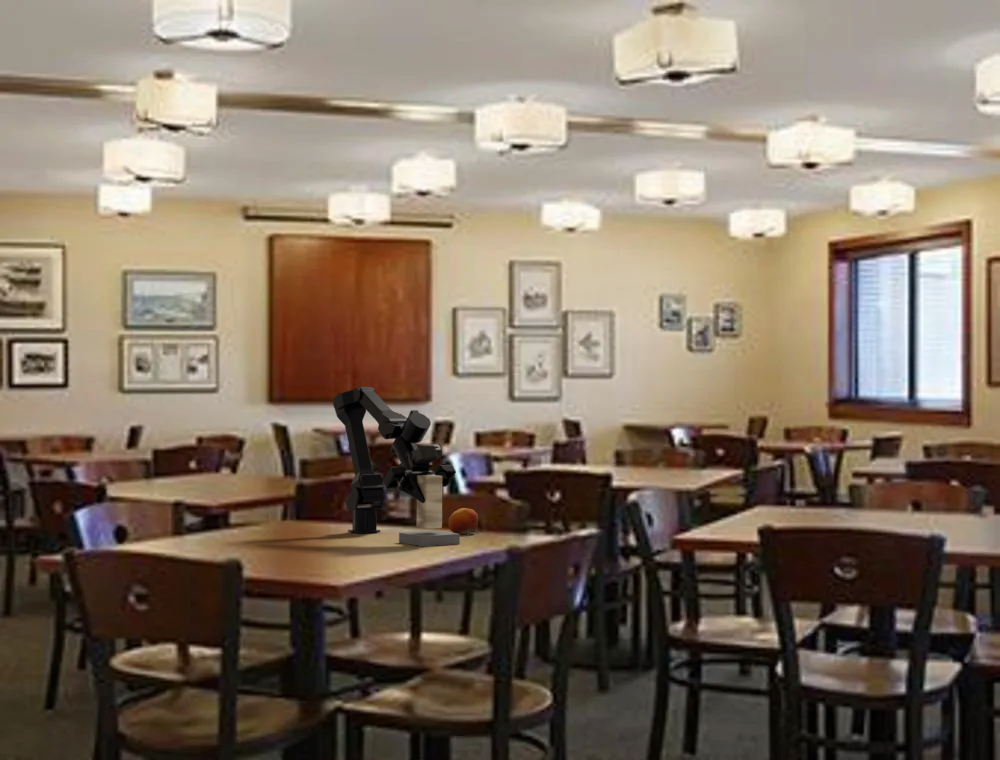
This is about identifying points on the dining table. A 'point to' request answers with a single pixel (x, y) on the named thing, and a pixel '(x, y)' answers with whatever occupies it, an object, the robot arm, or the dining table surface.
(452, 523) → the fruit
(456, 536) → the plinth
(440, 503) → the maple post
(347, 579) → the dining table surface
